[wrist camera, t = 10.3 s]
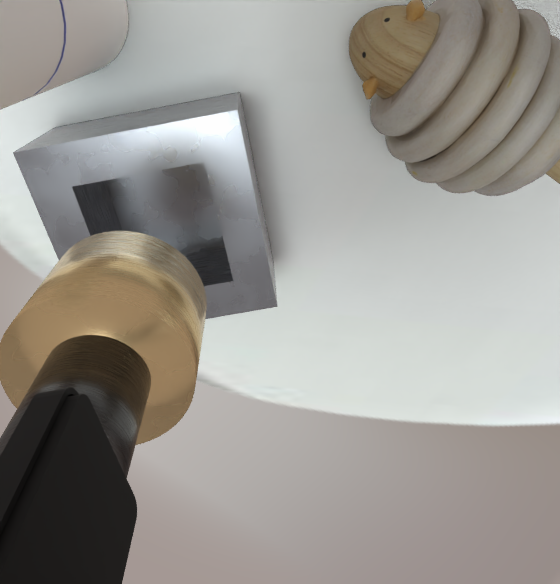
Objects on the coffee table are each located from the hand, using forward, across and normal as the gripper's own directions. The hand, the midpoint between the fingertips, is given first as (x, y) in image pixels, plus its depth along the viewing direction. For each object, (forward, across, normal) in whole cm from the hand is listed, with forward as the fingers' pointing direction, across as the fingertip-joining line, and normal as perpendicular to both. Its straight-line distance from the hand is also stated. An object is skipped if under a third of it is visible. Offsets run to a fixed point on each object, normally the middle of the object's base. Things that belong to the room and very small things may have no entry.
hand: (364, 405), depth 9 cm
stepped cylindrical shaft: (+15, +9, +5) cm, 18 cm away
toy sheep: (+31, -11, +1) cm, 33 cm away
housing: (+30, +9, +5) cm, 32 cm away
